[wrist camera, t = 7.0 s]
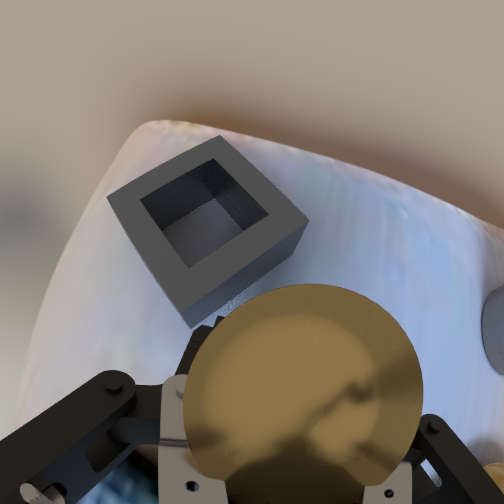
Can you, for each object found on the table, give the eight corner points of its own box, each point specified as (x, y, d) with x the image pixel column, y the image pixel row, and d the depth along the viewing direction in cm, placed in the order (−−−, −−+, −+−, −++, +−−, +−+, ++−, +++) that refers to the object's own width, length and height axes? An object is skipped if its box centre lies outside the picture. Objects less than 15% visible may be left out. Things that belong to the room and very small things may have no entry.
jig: (219, 175, 23) (219, 134, 19) (293, 252, 21) (309, 220, 17) (125, 231, 20) (106, 196, 16) (190, 329, 18) (180, 312, 14)
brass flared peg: (264, 329, 16) (323, 240, 6) (320, 392, 15) (454, 393, 5) (194, 382, 15) (130, 385, 5) (252, 448, 13) (295, 551, 3)
